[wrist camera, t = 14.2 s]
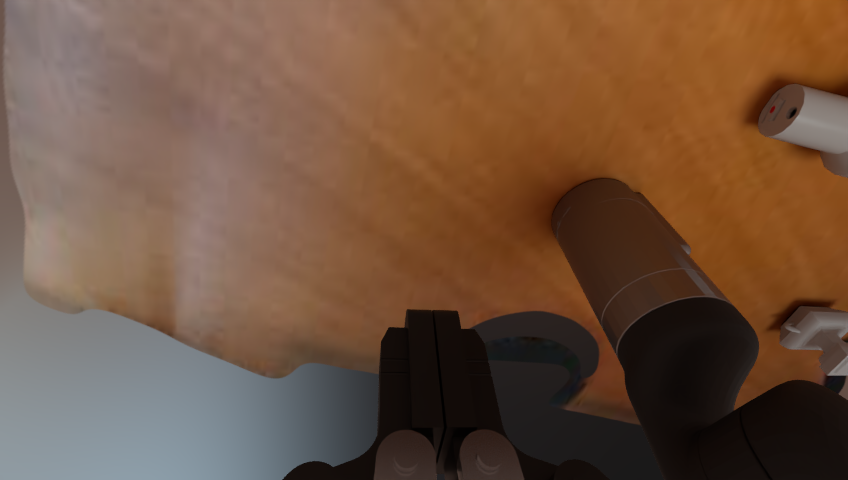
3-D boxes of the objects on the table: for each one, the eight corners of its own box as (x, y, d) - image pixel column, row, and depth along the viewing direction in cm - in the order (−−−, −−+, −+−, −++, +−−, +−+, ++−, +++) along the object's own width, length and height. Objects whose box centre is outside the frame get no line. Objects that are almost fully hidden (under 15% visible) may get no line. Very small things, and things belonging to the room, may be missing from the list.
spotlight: (833, 171, 43) (907, 196, 36) (728, 144, 43) (781, 163, 36) (888, 92, 40) (981, 101, 33) (773, 61, 40) (842, 64, 33)
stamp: (845, 299, 58) (904, 349, 52) (814, 331, 62) (864, 381, 56) (788, 297, 57) (840, 348, 50) (759, 330, 61) (804, 380, 54)
